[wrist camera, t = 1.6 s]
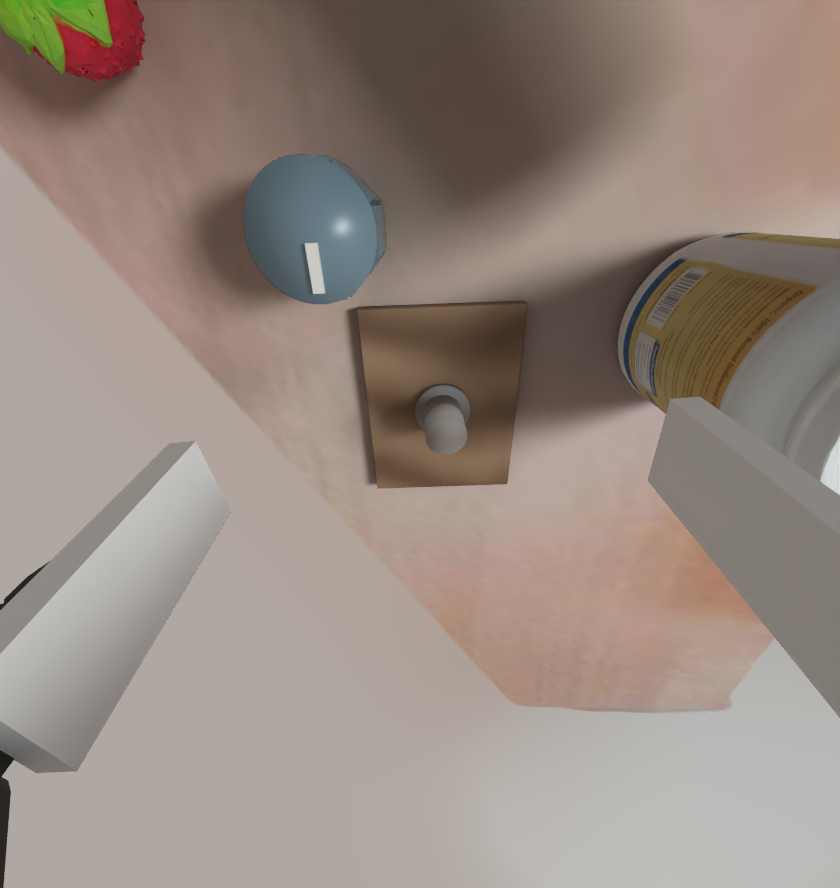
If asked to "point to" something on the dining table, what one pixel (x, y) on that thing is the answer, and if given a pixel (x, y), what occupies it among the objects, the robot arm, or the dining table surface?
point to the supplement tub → (746, 339)
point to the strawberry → (78, 33)
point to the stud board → (442, 390)
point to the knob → (313, 227)
